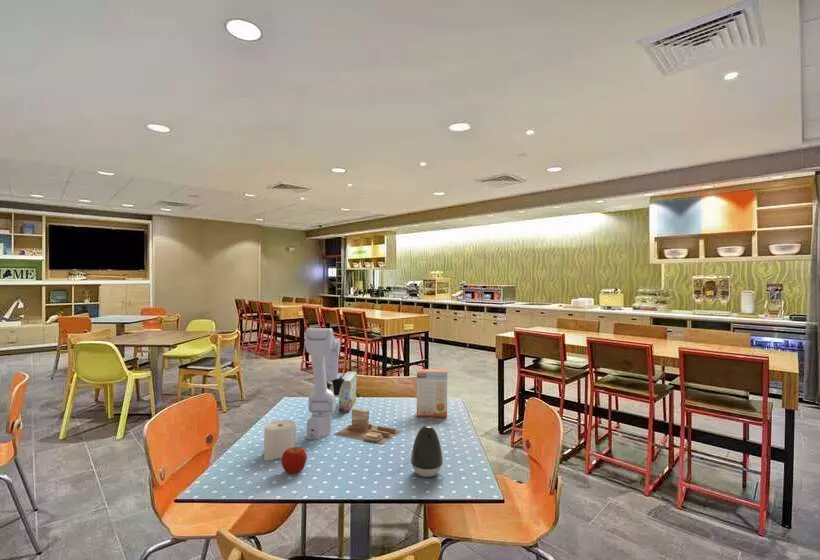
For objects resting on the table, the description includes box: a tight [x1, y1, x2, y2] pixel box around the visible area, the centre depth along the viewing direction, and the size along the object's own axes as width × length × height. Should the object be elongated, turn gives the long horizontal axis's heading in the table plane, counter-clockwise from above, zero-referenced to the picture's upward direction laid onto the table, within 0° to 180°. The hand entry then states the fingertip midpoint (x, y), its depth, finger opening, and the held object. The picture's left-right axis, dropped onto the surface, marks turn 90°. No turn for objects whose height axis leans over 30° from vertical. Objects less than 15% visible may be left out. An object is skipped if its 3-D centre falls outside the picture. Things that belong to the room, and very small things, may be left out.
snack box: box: [338, 371, 358, 414], centre depth 205 cm, size 21×6×15 cm, turn 179°
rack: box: [333, 423, 403, 446], centre depth 165 cm, size 16×22×3 cm
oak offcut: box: [365, 432, 382, 439], centre depth 159 cm, size 4×5×1 cm
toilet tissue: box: [263, 419, 297, 461], centre depth 147 cm, size 11×12×10 cm
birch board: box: [351, 407, 370, 430], centre depth 170 cm, size 2×7×8 cm, turn 64°
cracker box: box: [416, 368, 448, 418], centre depth 192 cm, size 14×6×21 cm, turn 84°
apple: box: [280, 446, 308, 475], centre depth 133 cm, size 8×8×8 cm
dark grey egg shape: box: [410, 425, 444, 478], centre depth 133 cm, size 10×10×15 cm
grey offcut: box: [364, 436, 383, 443], centre depth 159 cm, size 4×6×1 cm, turn 64°
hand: (331, 397), depth 182 cm, fingers open, 7 cm apart
